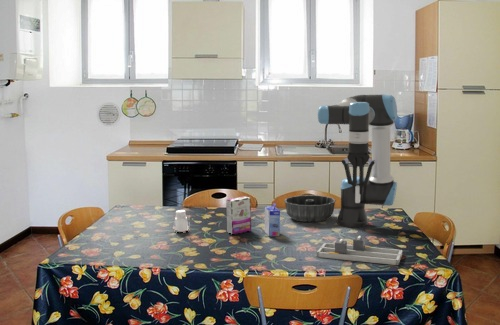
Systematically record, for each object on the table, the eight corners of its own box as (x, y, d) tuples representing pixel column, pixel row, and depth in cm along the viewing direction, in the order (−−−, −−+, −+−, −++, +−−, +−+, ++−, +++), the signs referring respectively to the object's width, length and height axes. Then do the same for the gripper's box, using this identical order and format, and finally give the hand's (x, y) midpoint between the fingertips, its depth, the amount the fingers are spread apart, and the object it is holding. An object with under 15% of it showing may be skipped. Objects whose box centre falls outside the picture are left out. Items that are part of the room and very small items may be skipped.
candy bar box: (245, 229, 275) (245, 195, 273) (251, 231, 271) (251, 197, 269) (226, 233, 269) (225, 199, 266) (232, 235, 265) (231, 200, 262)
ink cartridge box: (280, 236, 262) (280, 205, 260) (268, 237, 261) (268, 206, 259) (275, 230, 272) (275, 201, 269) (264, 231, 271) (263, 201, 268)
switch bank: (324, 249, 241) (324, 241, 240) (402, 257, 229) (402, 249, 229) (316, 259, 228) (316, 251, 227) (398, 268, 217) (398, 259, 216)
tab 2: (355, 250, 235) (355, 235, 234) (364, 251, 233) (365, 235, 232) (353, 254, 230) (353, 237, 229) (362, 255, 229) (363, 238, 228)
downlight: (191, 229, 276) (190, 209, 275) (188, 233, 269) (187, 212, 268) (175, 229, 277) (174, 209, 276) (172, 233, 270) (170, 213, 269)
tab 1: (337, 254, 231) (337, 238, 230) (346, 255, 229) (347, 238, 228) (334, 257, 227) (334, 240, 226) (344, 258, 225) (344, 241, 224)
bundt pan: (277, 214, 303) (276, 196, 301) (322, 210, 311) (322, 193, 309) (295, 227, 278) (295, 207, 277) (344, 222, 286) (344, 203, 285)
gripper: (339, 143, 218) (339, 203, 221) (374, 144, 213) (373, 205, 217) (343, 140, 224) (343, 199, 228) (377, 141, 220) (376, 201, 223)
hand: (357, 202), depth 222 cm, fingers closed
